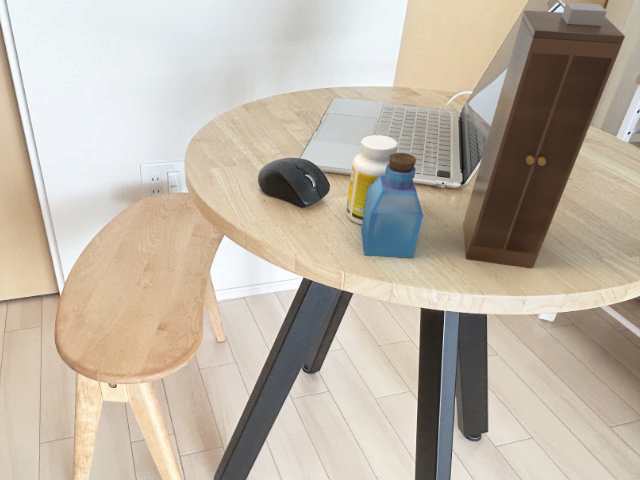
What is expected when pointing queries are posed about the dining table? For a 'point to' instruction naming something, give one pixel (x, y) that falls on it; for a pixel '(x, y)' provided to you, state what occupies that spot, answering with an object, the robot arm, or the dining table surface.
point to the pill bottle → (367, 172)
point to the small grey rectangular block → (584, 14)
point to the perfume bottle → (393, 211)
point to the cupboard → (536, 134)
